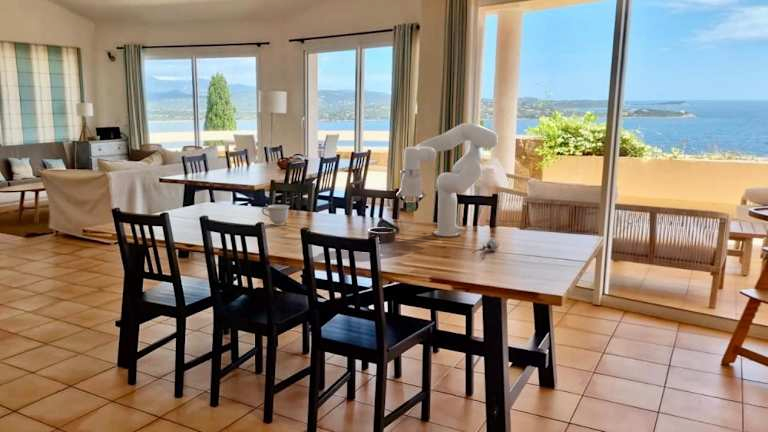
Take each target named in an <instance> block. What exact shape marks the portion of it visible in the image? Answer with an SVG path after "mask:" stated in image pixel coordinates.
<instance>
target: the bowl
mask: <svg viewBox="0 0 768 432" xmlns="http://www.w3.org/2000/svg"><path fill="white" fill-rule="evenodd" d="M372 235H374V236H378V237H379V241H380V243H379V244H391V243H394V242H395V241H397V240H396V239H397V233H396V230H395V229H392V228H384V227H378V228H377V227H371V228H368V229H367V238H368V237H370V236H372Z"/></svg>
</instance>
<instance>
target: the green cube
mask: <svg viewBox="0 0 768 432" xmlns="http://www.w3.org/2000/svg"><path fill="white" fill-rule="evenodd" d="M406 203H407V204H406V211H405V212H411V213H413V212H417V211H416V200H406Z"/></svg>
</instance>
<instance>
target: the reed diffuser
mask: <svg viewBox="0 0 768 432" xmlns="http://www.w3.org/2000/svg"><path fill="white" fill-rule="evenodd" d="M499 247H500V243H499V242H498V241H497V240H496V239H489V241H487V243H486V245H485V244H482V248H479V249H477V250H475V251H472V253H476V252H478V251H481V250H486V252H485V253H484V255H483V258H482V260H484V259H485V257H486V255H487V253H488V251H490V252H492V251H493V252H494V251H496V250H498V249H499Z"/></svg>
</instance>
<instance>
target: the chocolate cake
mask: <svg viewBox="0 0 768 432" xmlns="http://www.w3.org/2000/svg"><path fill="white" fill-rule="evenodd" d="M378 227H384V228H392V229H395V230H396V234H399V233H400V231H401V229H400V227H399V226H397V225H394V224H393V223H392V222H390V221H388V220H387V219H384V218H382V217H380V218H379V221H378V222H377V224H376V228H378Z"/></svg>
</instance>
